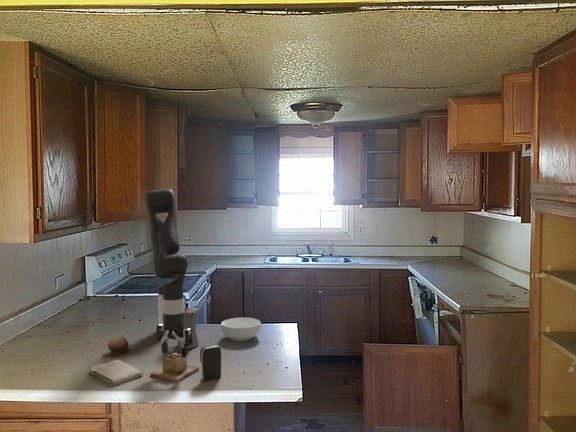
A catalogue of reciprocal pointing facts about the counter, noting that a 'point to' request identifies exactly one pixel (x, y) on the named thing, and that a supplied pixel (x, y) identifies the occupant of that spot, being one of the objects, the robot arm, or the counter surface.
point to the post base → (173, 377)
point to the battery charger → (210, 362)
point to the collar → (174, 364)
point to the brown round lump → (118, 345)
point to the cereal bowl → (240, 328)
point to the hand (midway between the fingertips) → (174, 355)
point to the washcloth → (115, 372)
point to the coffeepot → (190, 324)
